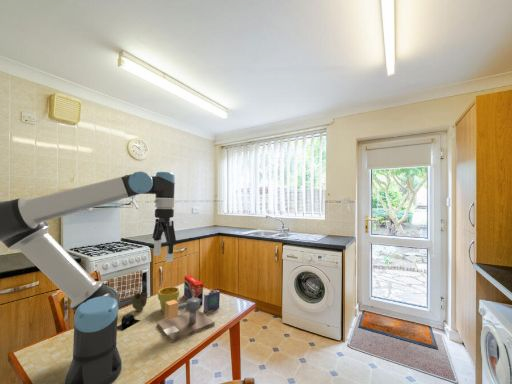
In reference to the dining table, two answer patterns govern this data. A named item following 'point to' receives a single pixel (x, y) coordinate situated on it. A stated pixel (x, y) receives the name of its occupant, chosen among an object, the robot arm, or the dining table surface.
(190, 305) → the grey joystick lever
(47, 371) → the dining table surface
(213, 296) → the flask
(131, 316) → the black rounded lump
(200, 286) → the toy box
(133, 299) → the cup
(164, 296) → the plant pot
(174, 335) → the post base
